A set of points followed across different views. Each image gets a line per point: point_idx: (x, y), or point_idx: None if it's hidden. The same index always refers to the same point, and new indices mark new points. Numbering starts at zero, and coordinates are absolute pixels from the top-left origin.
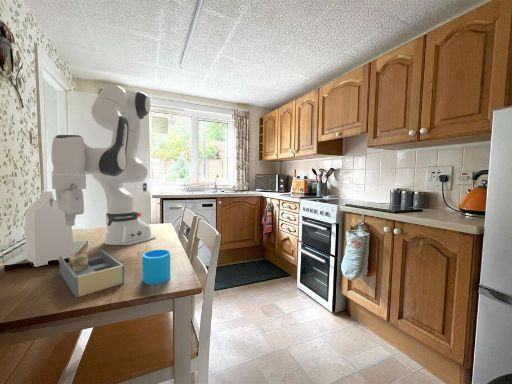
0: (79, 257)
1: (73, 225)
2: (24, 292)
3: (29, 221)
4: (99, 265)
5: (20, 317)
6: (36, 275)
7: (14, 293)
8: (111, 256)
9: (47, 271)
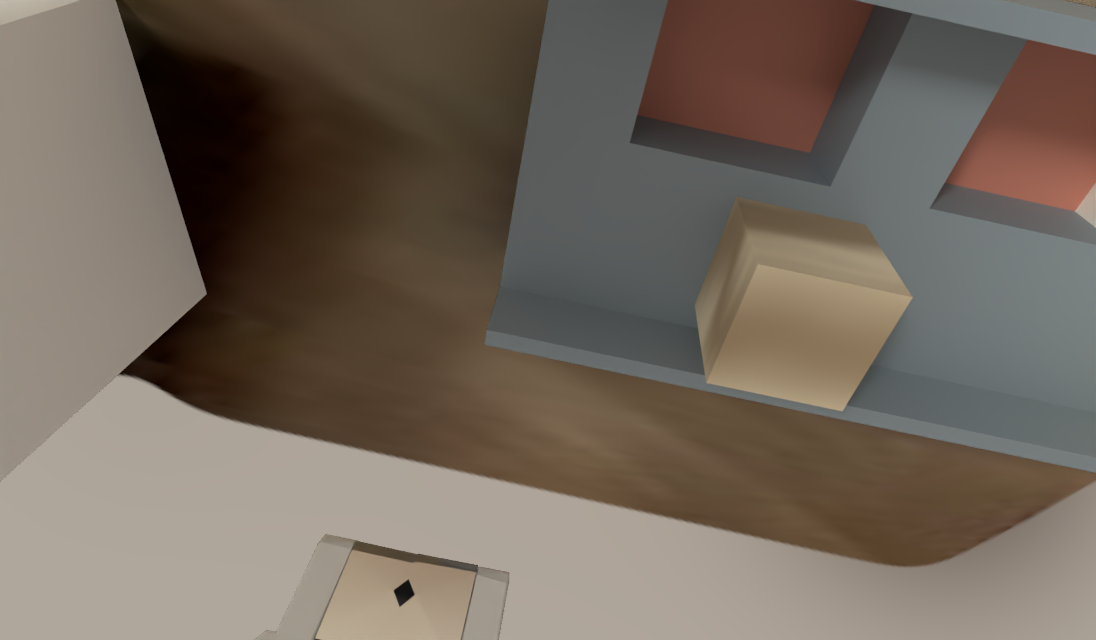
0: (853, 354)
1: (507, 573)
2: (667, 461)
3: None
4: (904, 118)
5: (952, 545)
6: (421, 350)
7: (633, 483)
8: (1067, 19)
9: (389, 287)
